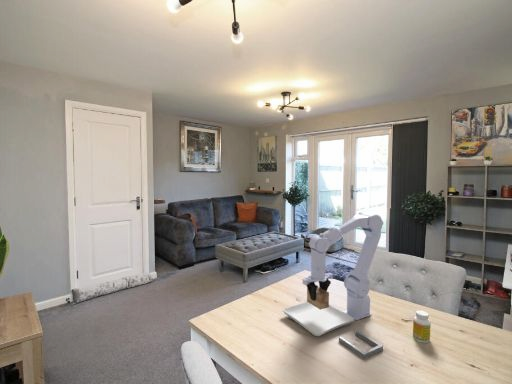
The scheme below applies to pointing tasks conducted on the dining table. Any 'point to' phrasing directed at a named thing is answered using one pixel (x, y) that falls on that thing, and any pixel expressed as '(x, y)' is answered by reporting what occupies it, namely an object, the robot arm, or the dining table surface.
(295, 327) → the dining table surface
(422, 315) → the supplement bottle
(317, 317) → the salad plate
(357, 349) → the bay
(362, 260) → the robot arm
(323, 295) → the tan cardboard box
